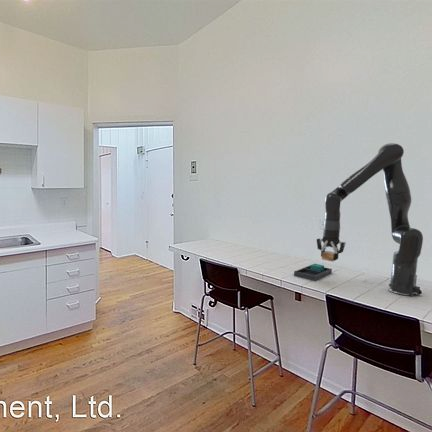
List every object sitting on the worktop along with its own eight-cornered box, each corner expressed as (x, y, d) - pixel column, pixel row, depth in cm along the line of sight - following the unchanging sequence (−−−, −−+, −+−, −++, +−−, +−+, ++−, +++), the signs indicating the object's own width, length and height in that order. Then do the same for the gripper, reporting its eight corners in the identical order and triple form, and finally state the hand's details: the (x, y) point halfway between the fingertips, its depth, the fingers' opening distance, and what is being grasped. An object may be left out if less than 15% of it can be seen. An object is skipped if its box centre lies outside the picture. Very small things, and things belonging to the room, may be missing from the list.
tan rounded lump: (336, 259, 165) (337, 252, 164) (332, 261, 162) (333, 254, 161) (326, 257, 169) (326, 250, 169) (321, 259, 166) (322, 252, 165)
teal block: (323, 271, 182) (324, 265, 182) (319, 273, 179) (320, 267, 178) (314, 269, 187) (314, 263, 186) (310, 271, 183) (310, 265, 183)
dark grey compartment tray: (331, 273, 182) (331, 268, 181) (314, 280, 168) (314, 276, 168) (311, 268, 191) (311, 264, 191) (293, 275, 178) (294, 271, 177)
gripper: (314, 227, 167) (312, 257, 169) (343, 231, 155) (341, 262, 157) (320, 226, 171) (318, 255, 173) (349, 229, 160) (346, 260, 162)
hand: (329, 258), depth 165 cm, fingers closed on tan rounded lump, 5 cm apart
